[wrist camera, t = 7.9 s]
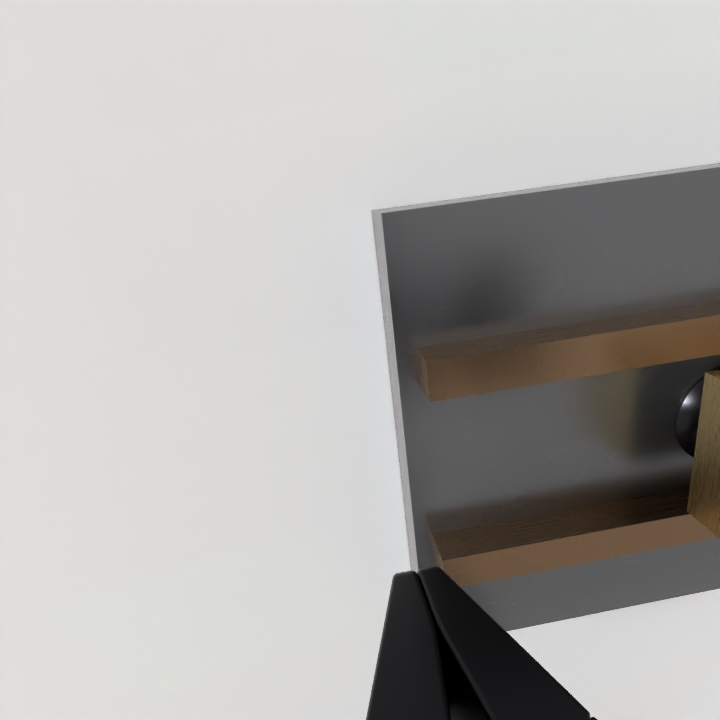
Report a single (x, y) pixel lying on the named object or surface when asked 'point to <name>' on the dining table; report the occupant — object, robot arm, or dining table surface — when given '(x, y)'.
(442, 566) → the bolt plate
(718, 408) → the tan wooden block
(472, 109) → the dining table surface
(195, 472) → the dining table surface
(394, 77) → the dining table surface
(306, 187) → the dining table surface
